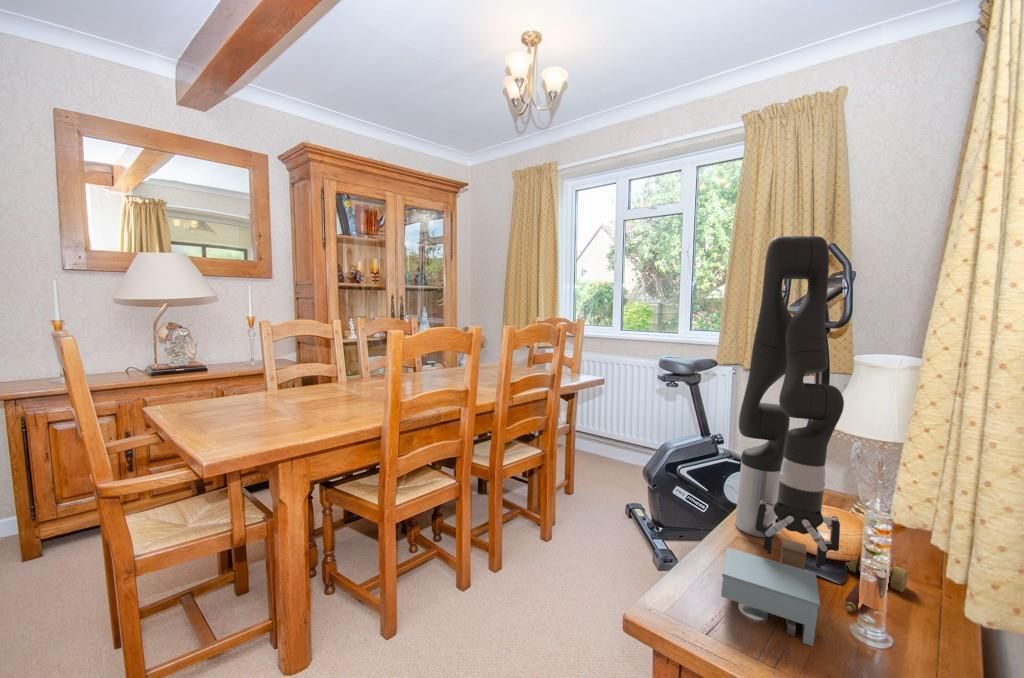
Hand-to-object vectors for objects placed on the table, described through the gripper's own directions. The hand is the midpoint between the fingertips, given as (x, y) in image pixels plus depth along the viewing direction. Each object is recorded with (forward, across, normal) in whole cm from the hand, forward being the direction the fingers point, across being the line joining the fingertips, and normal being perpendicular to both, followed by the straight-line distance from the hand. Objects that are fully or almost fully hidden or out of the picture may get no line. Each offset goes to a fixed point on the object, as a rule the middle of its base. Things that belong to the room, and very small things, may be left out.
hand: (792, 559), depth 94 cm
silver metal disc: (+8, +6, +11) cm, 15 cm away
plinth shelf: (+8, +4, +9) cm, 13 cm away
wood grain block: (+8, 0, +5) cm, 9 cm away
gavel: (+8, -14, -9) cm, 18 cm away
